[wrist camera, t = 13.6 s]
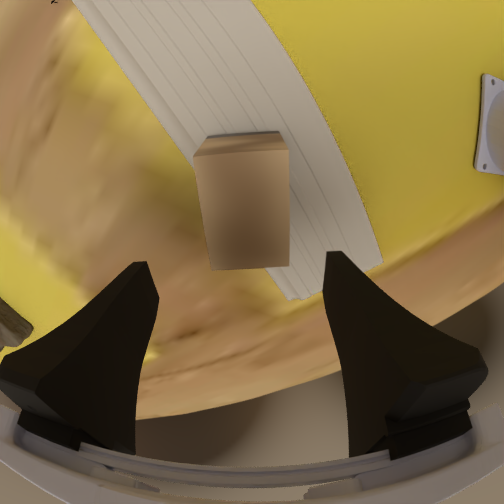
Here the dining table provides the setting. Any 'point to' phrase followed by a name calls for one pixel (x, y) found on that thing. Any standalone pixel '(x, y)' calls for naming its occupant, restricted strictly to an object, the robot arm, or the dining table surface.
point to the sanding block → (245, 199)
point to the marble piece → (12, 327)
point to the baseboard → (241, 113)
